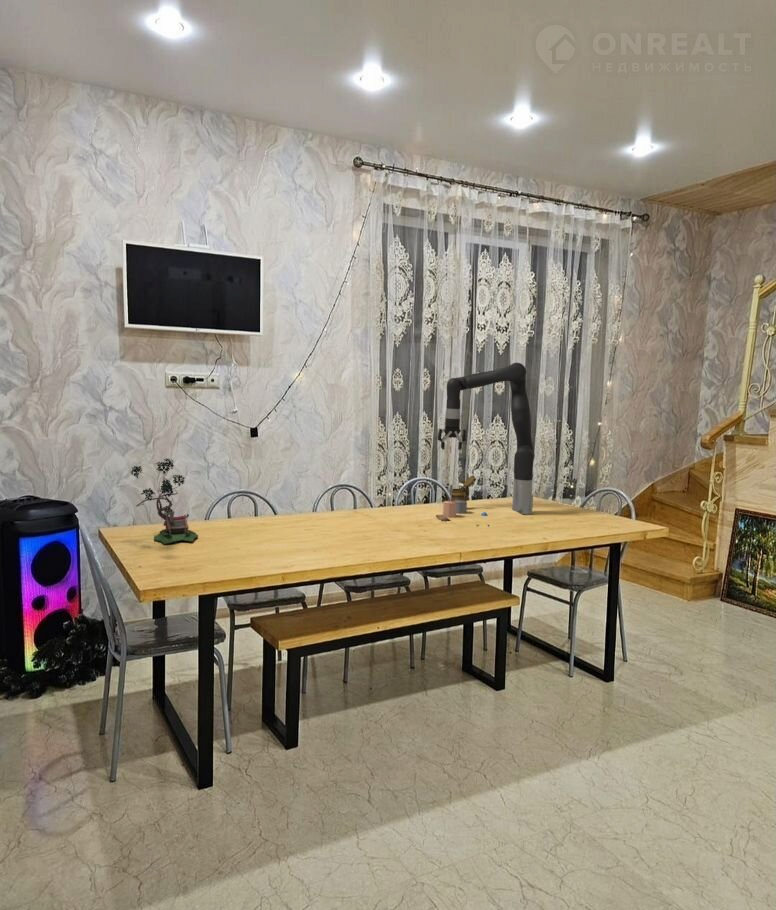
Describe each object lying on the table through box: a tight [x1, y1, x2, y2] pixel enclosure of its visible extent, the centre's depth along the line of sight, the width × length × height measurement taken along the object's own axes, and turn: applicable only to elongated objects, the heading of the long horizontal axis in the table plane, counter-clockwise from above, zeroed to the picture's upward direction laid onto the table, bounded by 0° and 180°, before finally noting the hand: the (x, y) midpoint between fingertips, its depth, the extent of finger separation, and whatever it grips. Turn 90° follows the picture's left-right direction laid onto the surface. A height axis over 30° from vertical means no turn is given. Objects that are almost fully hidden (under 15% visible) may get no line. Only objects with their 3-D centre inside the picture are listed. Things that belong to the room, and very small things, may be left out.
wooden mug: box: [450, 475, 475, 502], centre depth 354 cm, size 9×14×18 cm, turn 118°
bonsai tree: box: [130, 457, 199, 546], centre depth 267 cm, size 35×24×32 cm
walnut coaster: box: [435, 514, 452, 522], centre depth 333 cm, size 10×10×1 cm
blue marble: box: [480, 511, 488, 517], centre depth 338 cm, size 3×3×3 cm
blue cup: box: [455, 500, 468, 515], centre depth 343 cm, size 6×6×7 cm
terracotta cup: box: [442, 500, 457, 519], centre depth 332 cm, size 6×6×7 cm
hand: (451, 449), depth 359 cm, fingers open, 8 cm apart
